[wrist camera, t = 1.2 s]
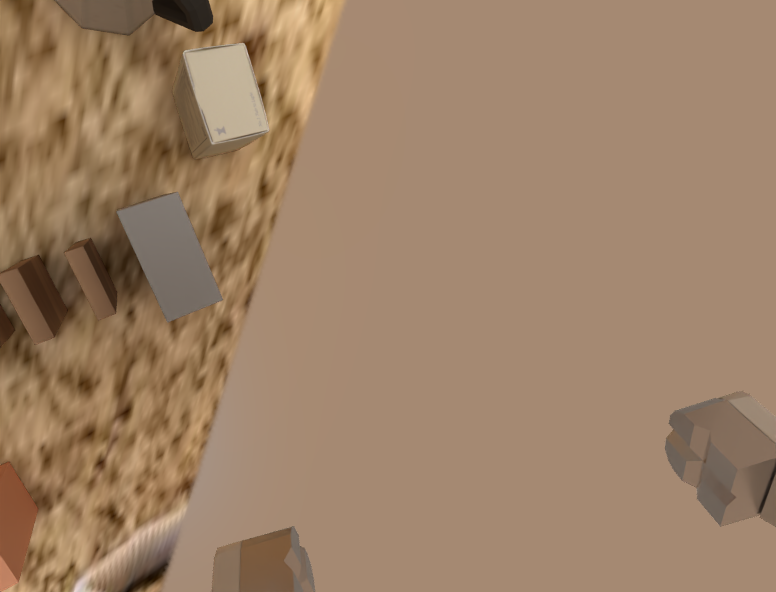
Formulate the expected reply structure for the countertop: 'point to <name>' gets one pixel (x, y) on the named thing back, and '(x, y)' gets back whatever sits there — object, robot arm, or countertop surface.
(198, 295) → the end block
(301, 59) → the countertop surface
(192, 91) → the skincare box
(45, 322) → the walnut domino
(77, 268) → the walnut domino
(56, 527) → the countertop surface
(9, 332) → the walnut domino
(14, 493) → the terracotta domino
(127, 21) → the coffee maker
